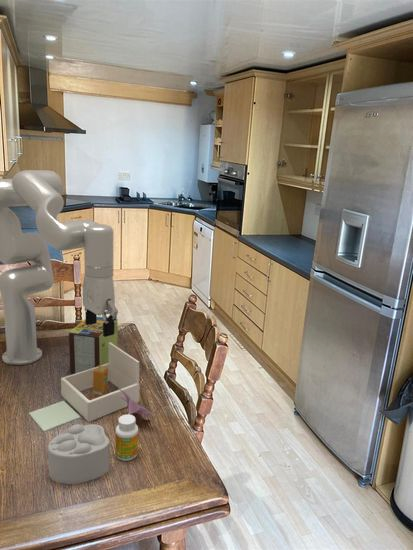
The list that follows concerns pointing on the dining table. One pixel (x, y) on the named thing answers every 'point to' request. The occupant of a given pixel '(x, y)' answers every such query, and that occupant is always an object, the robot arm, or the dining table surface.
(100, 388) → the supplement box
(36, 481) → the dining table surface
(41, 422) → the mat
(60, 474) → the lumpy-topped squat cylinder
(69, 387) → the carton
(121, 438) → the supplement bottle
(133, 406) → the lily
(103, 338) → the protein box
